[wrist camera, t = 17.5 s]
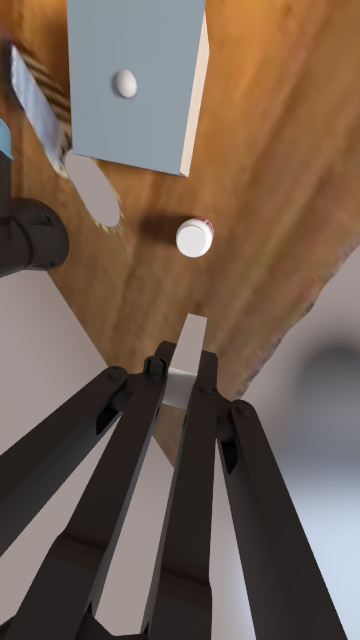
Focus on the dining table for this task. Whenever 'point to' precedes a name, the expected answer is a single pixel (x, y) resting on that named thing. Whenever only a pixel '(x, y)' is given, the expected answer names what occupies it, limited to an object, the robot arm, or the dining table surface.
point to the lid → (132, 78)
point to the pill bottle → (194, 237)
